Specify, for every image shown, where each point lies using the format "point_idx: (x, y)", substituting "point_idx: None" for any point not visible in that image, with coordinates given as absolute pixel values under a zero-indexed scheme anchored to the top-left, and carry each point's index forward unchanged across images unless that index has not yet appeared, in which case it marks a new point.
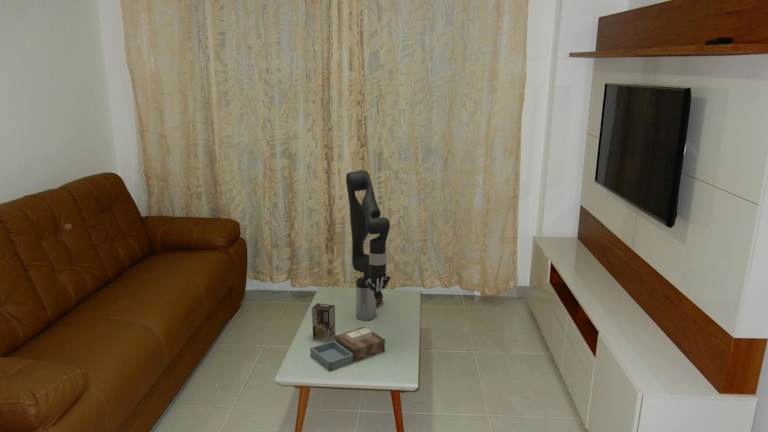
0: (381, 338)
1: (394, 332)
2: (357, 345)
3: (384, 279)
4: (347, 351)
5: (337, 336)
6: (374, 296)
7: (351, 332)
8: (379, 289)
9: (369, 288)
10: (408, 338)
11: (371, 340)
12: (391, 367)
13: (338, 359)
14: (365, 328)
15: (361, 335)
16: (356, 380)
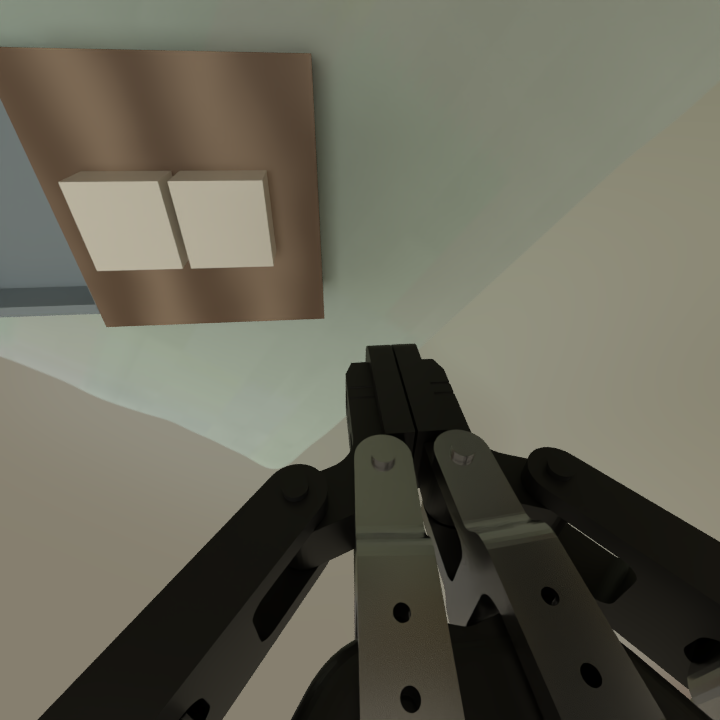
0: (314, 300)
1: (525, 117)
2: (139, 295)
3: (702, 688)
4: (79, 269)
5: (5, 77)
6: (346, 383)
7: (113, 189)
8: (425, 522)
9: (242, 508)
10: (512, 236)
11: (248, 290)
12: (273, 390)
13: (5, 316)
14: (254, 194)
15: (180, 267)
16: (101, 398)
